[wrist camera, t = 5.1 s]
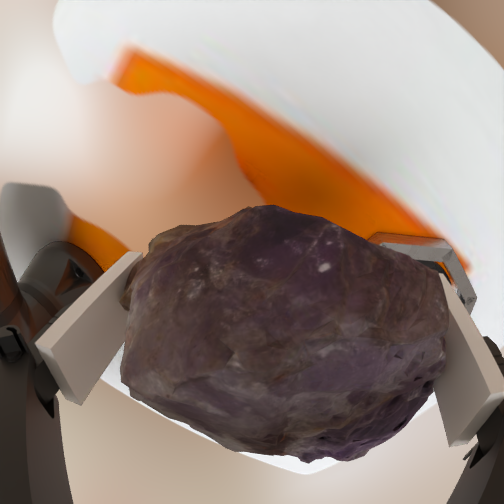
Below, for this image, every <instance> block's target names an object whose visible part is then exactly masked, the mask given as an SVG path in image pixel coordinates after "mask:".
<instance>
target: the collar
mask: <svg viewBox="0 0 504 504" xmlns="http://www.w3.org/2000/svg"><path fill="white" fill-rule="evenodd" d="M367 241H369V242H371V243H374V244H377V245H380V246H383V247H386V248H389V249H390V248H392V250H395V251H398V252H401V253H403V254H406V255H409V256H410V257H411V258H413V259H415V260H416V261H418V262H420V263H422V264H423V265H425V266H427V267H429V268H431V269H434V270H436V271H438V273H441V274H444V276H445V277H446V279H447V280H448V282H449V283H450V285H451V282H450V280H449V278H448V276H447V274H446V273H445V271H444V270H443V268H442V267H441V266H440V265H439V264H438V263H437V262H443V264H444V266H445V268H446V269H447V271H448V273H449V275H450V276H451V278H452V280H453V282H454V284H455V286H456V287H457V289H458V292H457V296H458V297H459V299H460V300H461V302H462V303H463V305H464V307H465V308H466V310H467V311H468V313H469V315H470V314H471V312H472V310H473V307H474V305H475V302H476V300H477V296H476V294H475V292H474V290H473V288H472V286H471V284H470V281H469V279H468V277H467V275H466V273H465V271H464V269H463V268H462V266H461V264H460V262H459V260H458V258H457V256H456V254H455V252H454V251H453V249H452V248H451V247H450V245H449V244H448V243H447V242H446V241H445V240H444V239H437V238H428V237H419V236H410V235H400V234H390V233H380V232H377V233H376V234H375V235H373V236H372V237H371V238H369V239H368V240H367ZM435 261H437V262H435Z"/></svg>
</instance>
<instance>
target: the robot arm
mask: <svg viewBox="0 0 504 504" xmlns="http://www.w3.org/2000/svg"><path fill="white" fill-rule="evenodd" d="M141 259H143V253H142V252H131V251H128V252H127V253H126V254H125V255H123V256H122V257H121V258H120V259H119V260H118V261H117V262H116V263H115V264H114V265H112V266H111V267H110V268H109V269H108V270H107V271H106V272H105V273H103V271H102V270H101V268H100V267H99V266H98V264H97V263H96V262H95V261H94V260H93V259H92V258H91V257H90V256H89V255H88V254H87V253H85V252H84V251H83V250H81V249H80V248H78V247H77V246H75V245H73V244H70V243H67V242H62V241H56V242H52V243H50V244H48V245H47V246H45V247H44V248H43V249H41V250H40V251H39V252H38V253H37V254H36V255H35V256H34V258H33V260H32V261H31V263H30V264H29V266H28V267H27V269H26V271H25V272H24V274H23V275H22V277H21V279H20V281H19V282H18V283H17V281H16V278H15V275H14V273H13V270H12V267H11V264H10V261H9V258H8V256H7V253H6V249H5V246H4V243H3V240H2V237H1V233H0V504H73V500H72V495H71V491H70V486H69V481H68V476H67V470H66V465H65V458H64V451H63V444H62V436H61V426H60V416H59V402H58V398H57V396H56V395H55V394H56V393H57V392H58V390H59V389H60V391H61V392H62V394H63V395H64V397H65V399H67V400H69V401H71V402H74V403H76V404H79V405H82V404H83V402H84V401H85V399H86V398H87V396H88V395H89V393H90V392H91V390H92V388H93V387H94V385H95V384H96V382H97V381H98V380H99V378H100V377H101V375H102V374H103V372H104V371H105V369H106V368H107V366H108V365H109V363H110V362H111V360H112V359H113V358H114V356H115V355H116V353H117V352H118V350H119V349H120V347H121V346H122V345H123V343H124V342H125V330H126V325H127V320H128V315H129V312H128V311H126V310H124V308H123V307H122V305H121V304H120V303H119V301H120V299H121V297H122V295H123V293H124V288H125V285H126V282H127V278H128V276H129V273H130V271H131V269H132V268H133V266H134V265H135V264H136V263H137V262H138V261H140V260H141ZM439 276H440V278H441V281H442V284H443V288H444V291H445V295H446V299H447V303H448V308H449V329H448V331H447V333H446V334H445V336H444V338H445V342H446V366H445V371H444V372H443V373H442V374H441V375H440V376H439V377H438V378H437V379H436V380H435V381H434V385H433V388H434V391H435V395H436V398H437V402H438V405H439V408H440V412H441V416H442V420H443V424H444V428H445V432H446V436H447V440H448V444H449V447H453V446H458V445H464V444H468V443H469V441H470V440H471V439H472V438H473V437H474V436H475V435H476V434H477V438H478V442H477V444H476V445H475V446H474V447H473V448H472V449H471V450H470V451H469V452H468V453H467V454H466V455H465V457H464V458H463V460H466V459H467V458H468V457H469V456H470V457H469V459H468V462H467V464H466V467H465V468H464V471H463V473H462V475H461V477H460V479H459V481H458V483H457V485H456V487H455V489H454V491H453V493H452V495H451V496H450V498H449V500H448V502H447V504H504V358H503V357H502V354H501V352H500V350H499V349H498V347H497V345H496V344H495V343H494V342H493V341H492V340H491V339H490V338H489V337H488V336H485V337H482V335H481V334H480V332H479V330H478V328H477V327H476V325H475V323H474V321H473V320H472V318H471V316H470V315H469V313H468V311H467V310H466V308H465V307H464V305H463V303H462V302H461V300H460V299H459V297H458V296H457V294H456V292H455V291H454V289H453V288H452V286H451V285H450V283H449V282H448V280H447V279H446V277H445V276H444V274H441V273H439Z"/></svg>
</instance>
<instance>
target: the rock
mask: <svg viewBox="0 0 504 504" xmlns="http://www.w3.org/2000/svg"><path fill="white" fill-rule="evenodd" d="M119 303H120V304H121V305H122V307H123V308H124V310H126V311H128V312H129V315H128V320H127V325H126V330H125V346H124V353H123V357H122V362H121V366H120V374H121V382H122V383H123V384H125V385H126V386H128V387H129V390H130V396H131V397H133V398H134V399H136V400H138V401H142V402H144V403H145V404H147V405H148V406H150V407H151V408H153V409H155V410H156V411H158V412H160V413H161V414H163V415H164V416H166V417H168V418H171V419H174V420H177V421H180V422H184V423H186V424H188V425H190V427H191V428H193V429H195V430H197V431H199V432H201V433H204V434H205V435H207V436H208V437H210V438H212V439H213V440H215V441H216V442H218V443H219V444H221V445H222V446H224V447H225V448H227V449H230V450H232V451H235V452H250V453H257V454H264V455H272V456H274V455H280V456H284V455H291V456H295V457H298V458H299V459H300V461H302V462H305V463H308V464H309V463H310V462H312V461H314V460H315V459H322V458H324V457H332V458H334V459H336V460H339V461H351V460H354V459H357V458H359V457H362V456H364V455H365V454H366V453H367V452H368V451H369V449H371V448H373V447H375V446H377V445H380V444H382V443H384V442H385V441H387V440H388V439H390V438H392V437H393V436H394V435H396V434H397V433H398V432H399V431H400V430H402V429H403V428H404V427H405V426H406V425H407V424H408V422H409V421H410V420H411V419H412V417H413V416H414V415H415V414H416V412H417V411H418V410H419V409H420V408H421V407H422V406H423V404H424V403H425V402H426V401H427V399H428V396H430V395H431V394H432V393H433V392H434V391H433V385H434V381H435V380H436V379H437V378H438V377H439V376H440V375H441V374H442V373H443V372H444V371H445V366H446V342H445V338H444V336H445V334H446V333H447V331H448V329H449V308H448V303H447V299H446V295H445V291H444V288H443V284H442V281H441V278H440V276H439V273H438V271H436V270H434V269H431V268H429V267H427V266H425V265H423V264H422V263H420V262H418V261H416V260H415V259H413V258H411V257H410V256H409V255H406V254H403V253H401V252H398V251H395V250H392V248H390V249H389V248H386V247H383V246H380V245H377V244H374V243H371V242H369V241H367V240H365V239H363V238H361V237H359V236H358V235H356V234H354V233H352V232H350V231H348V230H346V229H344V228H342V227H340V226H338V225H336V224H334V223H332V222H330V221H328V220H326V219H324V218H322V217H318V216H312V215H306V214H300V213H294V212H292V211H289V210H287V209H284V208H281V207H279V206H276V205H265V206H255V207H254V208H251V207H247V208H245V209H242V210H241V211H239V212H237V213H236V214H234V215H232V216H230V217H228V218H227V219H224V220H222V221H220V222H213V223H208V224H202V225H196V226H195V225H179V226H177V227H175V228H173V229H170V230H168V231H165V232H163V233H160V234H158V235H157V236H156V237H155V238H154V239H152V240H151V242H150V243H149V252H148V254H147V255H146V257H144V258H143V259H141V260H140V261H138V262H137V263H136V264H135V265H134V266H133V268H132V269H131V271H130V273H129V276H128V278H127V282H126V285H125V288H124V293H123V295H122V297H121V299H120V301H119Z"/></svg>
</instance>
